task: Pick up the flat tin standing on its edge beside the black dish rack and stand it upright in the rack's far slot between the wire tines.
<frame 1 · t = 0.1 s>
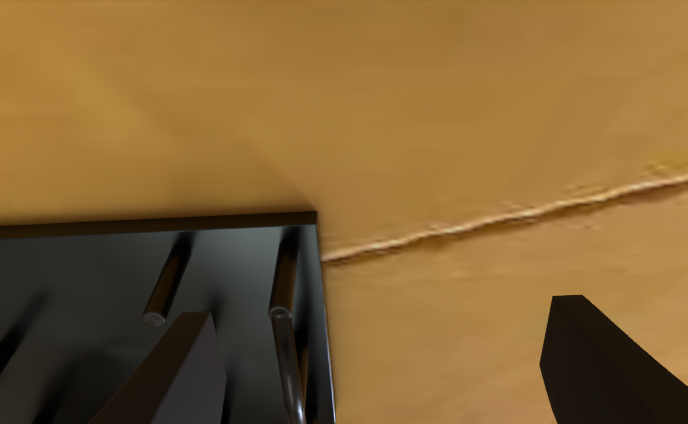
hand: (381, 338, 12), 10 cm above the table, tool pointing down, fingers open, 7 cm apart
rack: (111, 331, 25), on the table
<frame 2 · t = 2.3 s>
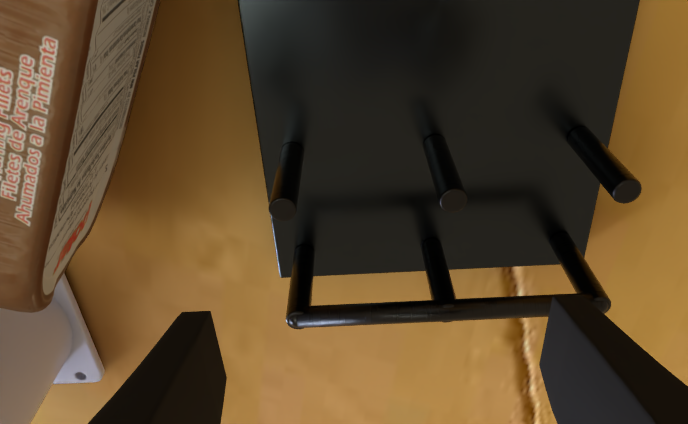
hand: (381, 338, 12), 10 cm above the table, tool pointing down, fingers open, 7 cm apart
tin: (123, 19, 18), on the table
rack: (434, 1, 17), on the table
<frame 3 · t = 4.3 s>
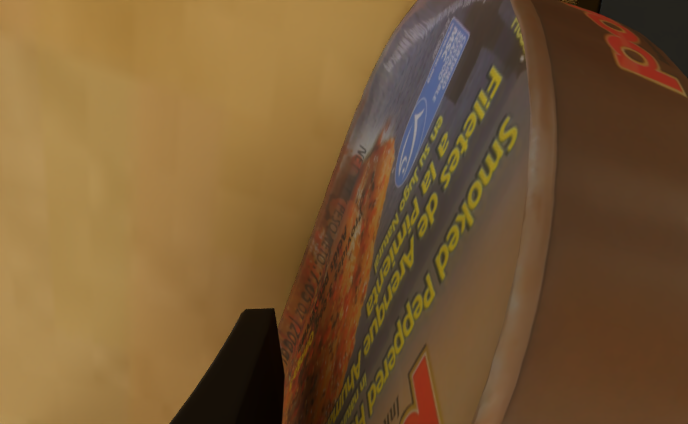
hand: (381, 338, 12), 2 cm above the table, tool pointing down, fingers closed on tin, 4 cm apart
tin: (364, 261, 14), on the table, touching gripper
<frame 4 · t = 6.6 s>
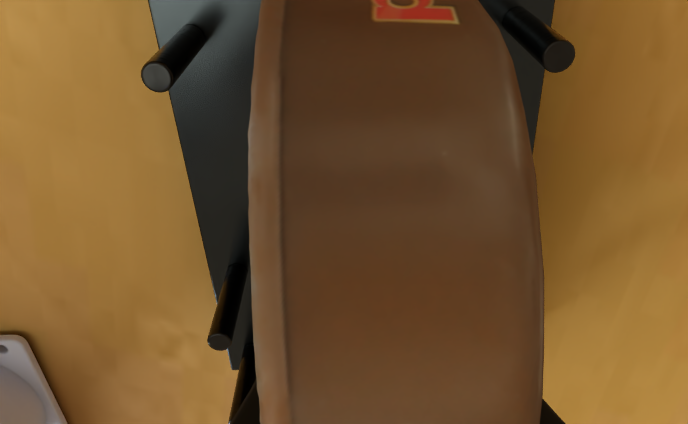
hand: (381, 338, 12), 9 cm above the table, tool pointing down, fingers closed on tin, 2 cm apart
tin: (388, 255, 14), point 7 cm above the table, touching gripper
rack: (357, 150, 20), on the table
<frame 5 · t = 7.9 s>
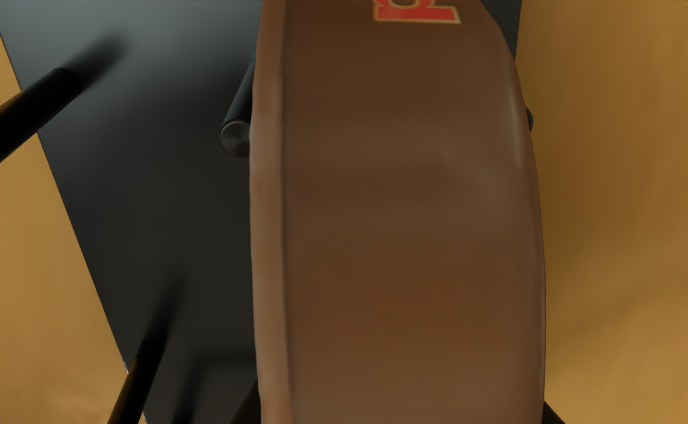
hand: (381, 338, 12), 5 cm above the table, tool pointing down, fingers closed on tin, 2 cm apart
tin: (388, 255, 14), point 3 cm above the table, touching gripper
rack: (287, 211, 16), on the table
when the fingers open (4 cm above the table, at t = 8.8 s): tin stays where it is, resting on rack.
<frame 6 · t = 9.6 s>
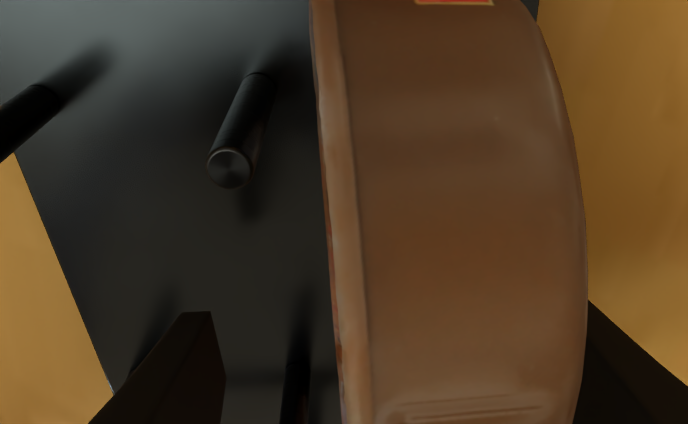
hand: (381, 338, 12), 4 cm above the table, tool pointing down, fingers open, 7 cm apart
tin: (386, 240, 15), point 1 cm above the table, touching rack
rack: (284, 232, 15), on the table
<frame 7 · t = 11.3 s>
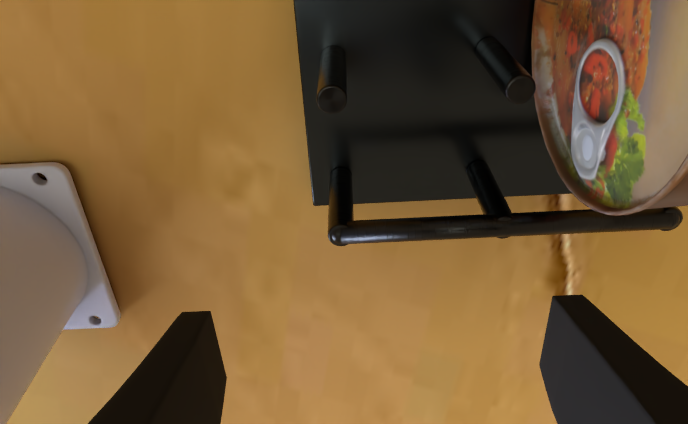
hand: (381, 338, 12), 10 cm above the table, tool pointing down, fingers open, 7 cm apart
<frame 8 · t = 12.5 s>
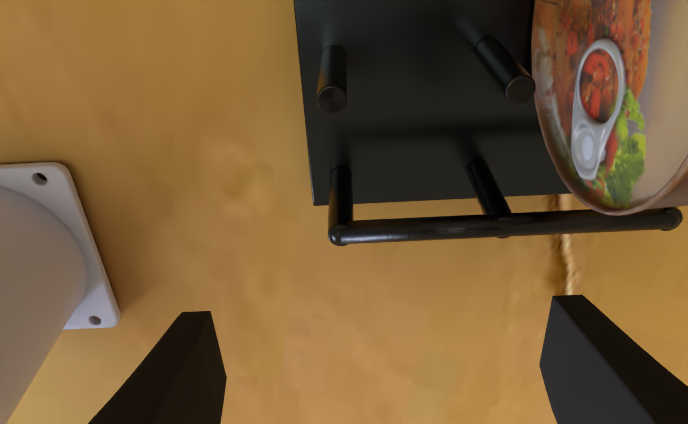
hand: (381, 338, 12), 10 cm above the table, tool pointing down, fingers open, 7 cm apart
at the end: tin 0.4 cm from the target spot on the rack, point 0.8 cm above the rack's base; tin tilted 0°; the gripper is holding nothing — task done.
